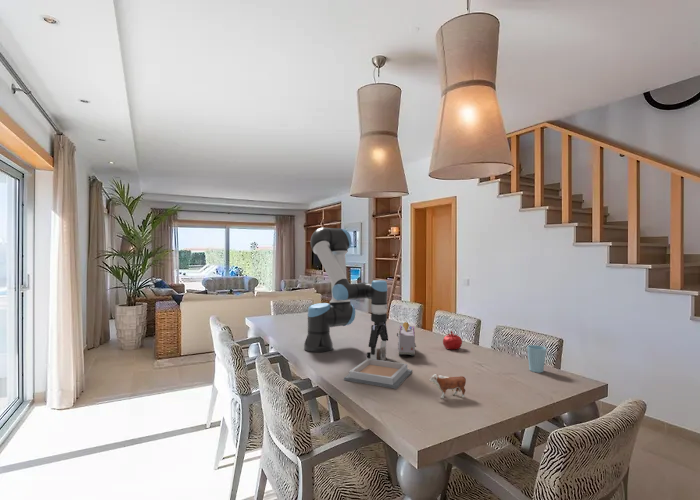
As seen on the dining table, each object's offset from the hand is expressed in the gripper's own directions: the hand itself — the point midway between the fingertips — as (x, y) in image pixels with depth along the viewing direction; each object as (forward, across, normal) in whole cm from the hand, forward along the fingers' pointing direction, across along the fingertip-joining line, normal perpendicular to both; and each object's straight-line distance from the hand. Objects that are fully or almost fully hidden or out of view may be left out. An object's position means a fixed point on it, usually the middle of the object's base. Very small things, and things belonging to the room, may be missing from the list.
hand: (378, 357), depth 180 cm
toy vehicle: (+2, +19, -8) cm, 21 cm away
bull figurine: (+2, -31, -38) cm, 49 cm away
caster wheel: (+2, 0, +1) cm, 2 cm away
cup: (+2, +17, -68) cm, 70 cm away
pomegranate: (+2, +39, -28) cm, 48 cm away
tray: (+1, -21, -8) cm, 23 cm away
